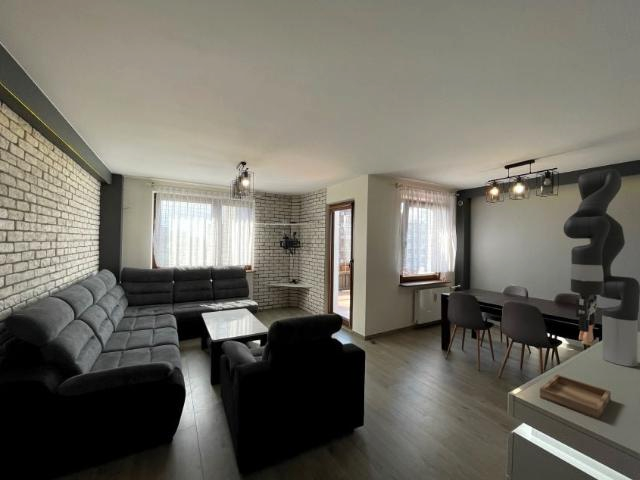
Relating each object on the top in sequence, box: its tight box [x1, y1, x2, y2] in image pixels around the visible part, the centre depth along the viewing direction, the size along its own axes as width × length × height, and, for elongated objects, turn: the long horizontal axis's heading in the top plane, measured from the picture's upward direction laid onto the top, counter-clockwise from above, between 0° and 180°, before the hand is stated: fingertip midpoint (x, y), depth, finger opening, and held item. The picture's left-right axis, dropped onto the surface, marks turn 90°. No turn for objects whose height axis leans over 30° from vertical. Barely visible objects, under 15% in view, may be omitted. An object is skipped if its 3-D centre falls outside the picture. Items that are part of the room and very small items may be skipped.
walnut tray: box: [539, 374, 612, 421], centre depth 78 cm, size 16×12×2 cm
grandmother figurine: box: [578, 307, 596, 346], centre depth 86 cm, size 8×4×13 cm, turn 135°
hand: (586, 328), depth 86 cm, fingers closed on grandmother figurine, 8 cm apart
